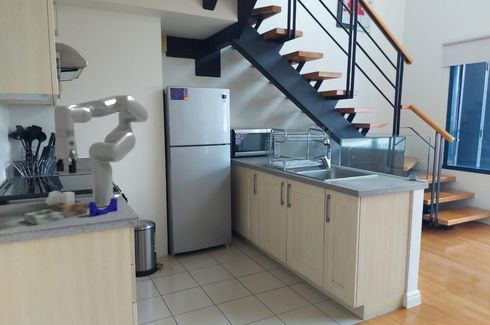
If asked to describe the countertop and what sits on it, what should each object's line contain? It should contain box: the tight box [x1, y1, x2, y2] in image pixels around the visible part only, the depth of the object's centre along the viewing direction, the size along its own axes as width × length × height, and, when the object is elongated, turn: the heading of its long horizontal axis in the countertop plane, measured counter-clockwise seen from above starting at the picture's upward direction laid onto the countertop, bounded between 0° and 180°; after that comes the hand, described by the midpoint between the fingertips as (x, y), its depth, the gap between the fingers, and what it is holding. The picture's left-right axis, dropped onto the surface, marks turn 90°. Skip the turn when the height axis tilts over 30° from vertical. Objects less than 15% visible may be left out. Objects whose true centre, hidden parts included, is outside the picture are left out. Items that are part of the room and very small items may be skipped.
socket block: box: [23, 199, 88, 226], centre depth 152 cm, size 22×10×5 cm, turn 147°
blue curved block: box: [88, 198, 118, 217], centre depth 159 cm, size 12×4×6 cm, turn 141°
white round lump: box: [45, 190, 63, 207], centre depth 171 cm, size 8×8×8 cm
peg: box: [61, 191, 76, 205], centre depth 156 cm, size 4×4×10 cm
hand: (66, 172), depth 154 cm, fingers open, 9 cm apart
